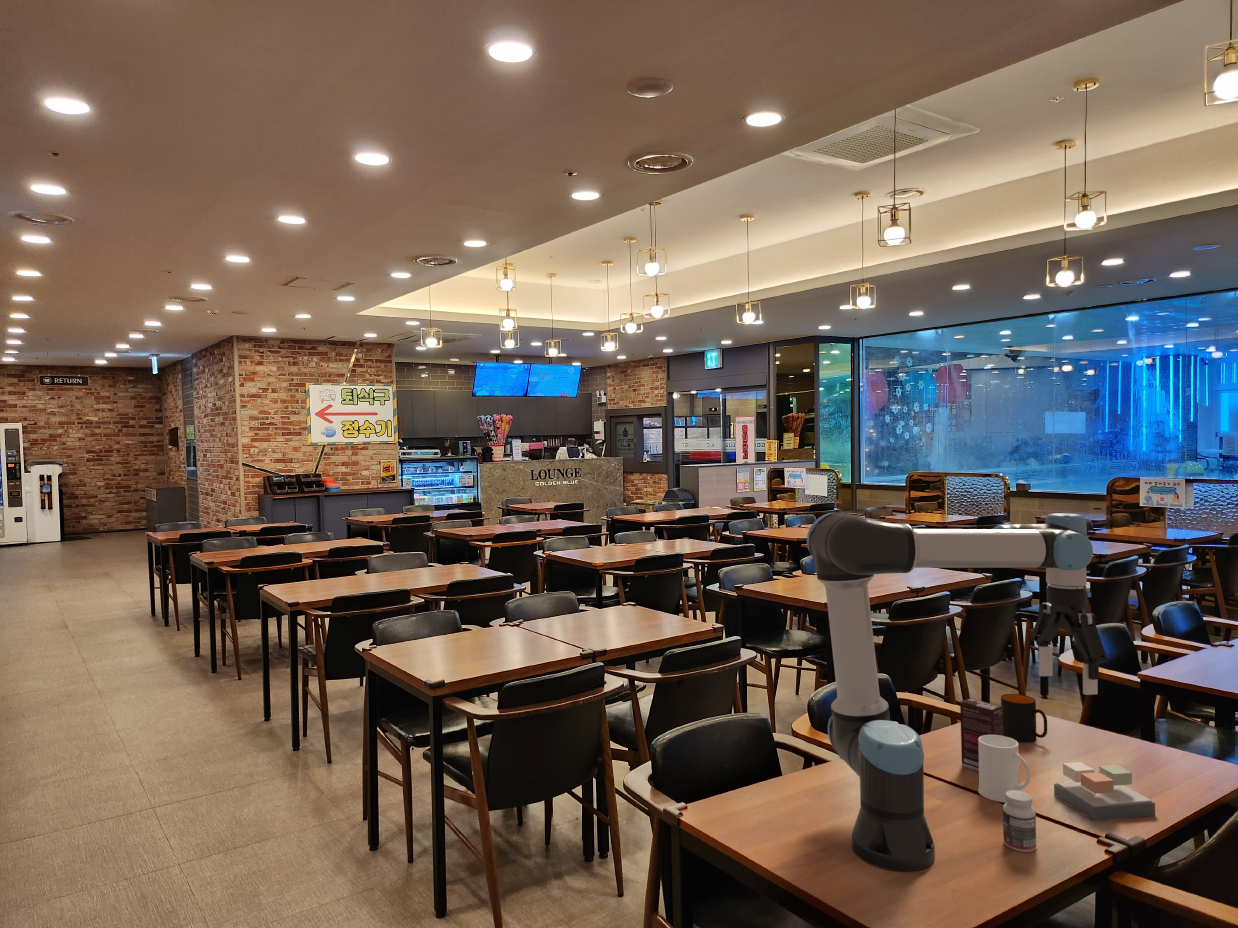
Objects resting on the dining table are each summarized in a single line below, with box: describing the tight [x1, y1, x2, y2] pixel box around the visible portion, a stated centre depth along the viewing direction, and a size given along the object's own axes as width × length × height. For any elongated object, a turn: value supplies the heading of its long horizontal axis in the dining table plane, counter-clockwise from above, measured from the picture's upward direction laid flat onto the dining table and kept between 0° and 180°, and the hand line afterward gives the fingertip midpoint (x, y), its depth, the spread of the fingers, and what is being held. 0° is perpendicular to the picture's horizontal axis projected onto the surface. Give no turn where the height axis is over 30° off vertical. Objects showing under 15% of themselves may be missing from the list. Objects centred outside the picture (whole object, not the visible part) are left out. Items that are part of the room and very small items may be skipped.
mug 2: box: [977, 735, 1031, 803], centre depth 171 cm, size 12×8×12 cm
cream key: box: [1062, 761, 1095, 782], centre depth 169 cm, size 4×4×2 cm
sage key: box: [1098, 764, 1133, 786], centre depth 167 cm, size 4×4×2 cm
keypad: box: [1053, 780, 1156, 821], centre depth 167 cm, size 14×12×3 cm
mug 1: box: [1000, 693, 1048, 744], centre depth 205 cm, size 8×12×10 cm
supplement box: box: [959, 698, 1004, 772], centre depth 187 cm, size 9×5×16 cm, turn 36°
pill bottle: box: [1002, 790, 1037, 853], centre depth 150 cm, size 6×6×10 cm
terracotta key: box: [1081, 771, 1114, 794], centre depth 163 cm, size 4×4×2 cm
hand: (1067, 684), depth 166 cm, fingers open, 13 cm apart
